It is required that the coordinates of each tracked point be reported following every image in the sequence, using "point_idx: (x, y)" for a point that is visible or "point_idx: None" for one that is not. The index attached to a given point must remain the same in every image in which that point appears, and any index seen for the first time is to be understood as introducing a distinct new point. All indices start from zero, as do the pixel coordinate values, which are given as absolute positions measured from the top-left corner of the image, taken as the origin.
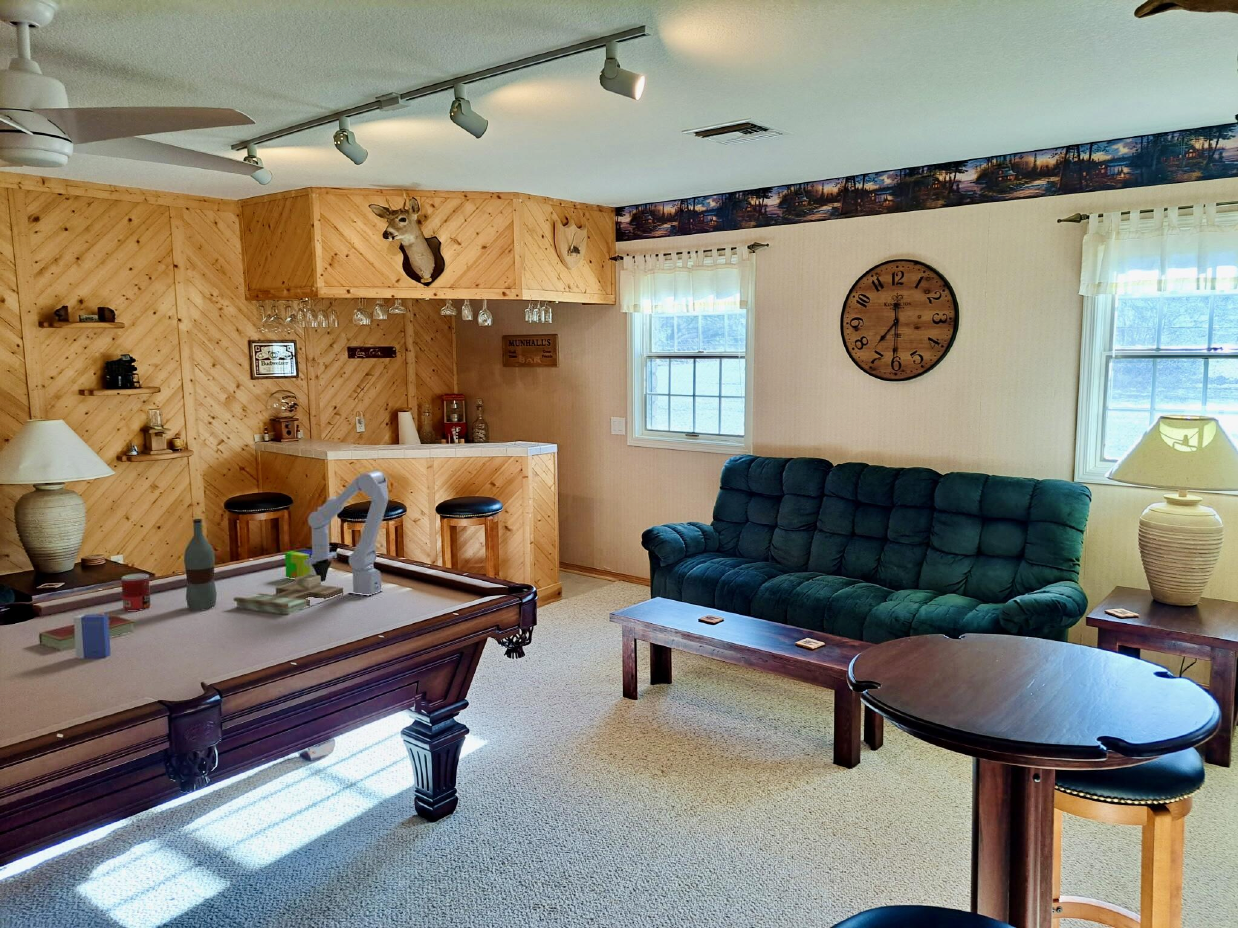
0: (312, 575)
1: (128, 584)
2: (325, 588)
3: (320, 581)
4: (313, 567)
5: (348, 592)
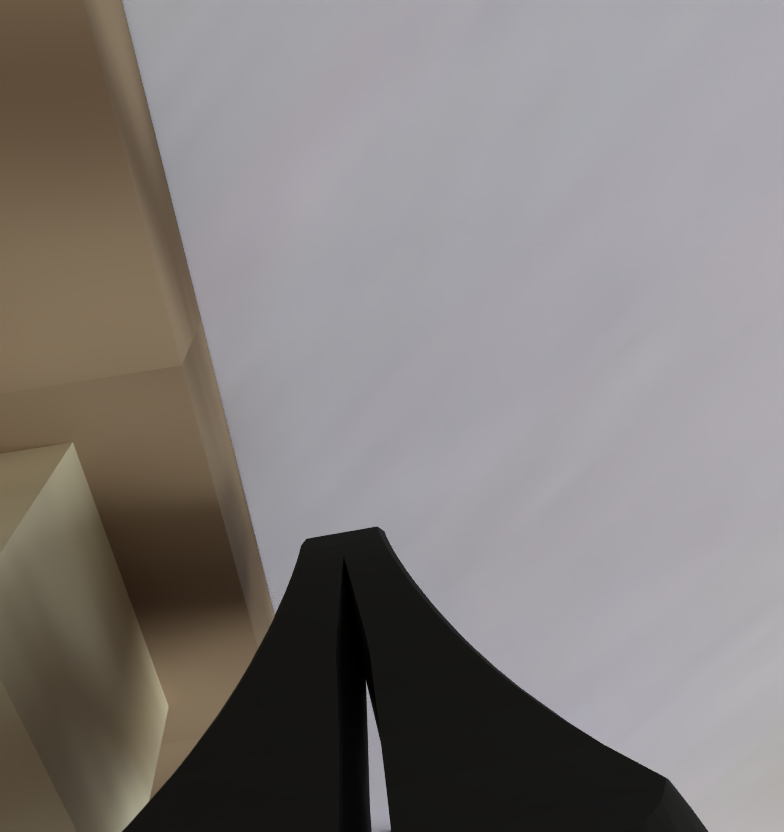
0: (4, 795)
1: None
2: None
3: (141, 797)
4: (146, 825)
5: None
